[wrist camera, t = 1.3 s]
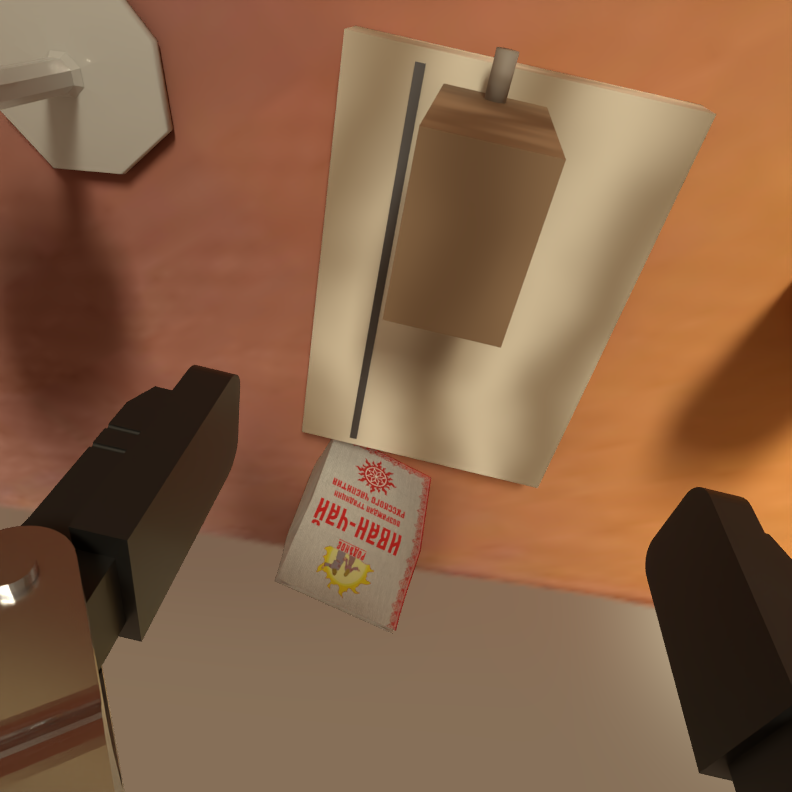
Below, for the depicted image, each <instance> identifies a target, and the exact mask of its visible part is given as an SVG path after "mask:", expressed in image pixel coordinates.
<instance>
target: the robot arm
mask: <svg viewBox="0 0 792 792" xmlns="http://www.w3.org/2000/svg"><path fill="white" fill-rule="evenodd" d="M239 399H240V379H239V376H238V375H235V374H231V373H227V372H223V371H219V370H214V369H210V368H206V367H202V366H198V365H193V366H191V367H190V368H189V369H188V371H187V372H186V373H185V374H184V376H183V377H182V378H181V380H180V381H179V382H178V384H177V385H176V386H175V388H174V389H173V390H168V389H164V388H160V387H156V386H155V387H153V388H151V389H150V390H148V391H146V392H144V393H142V394H141V395H139V396H137V397H135V398H134V399H132V400H130V401H128V402H127V403H126V404H125V405H124V406H123V408H122V409H121V410H120V411H119V412H118V413H117V415H116V416H115V417H114V418H113V419H112V420H111V422H110V423H109V426H108V428H105V429H104V430H103V431H102V432H101V433H100V435H99V436H98V437H97V438H96V439H95V440H94V442H93V446H92V447H89V448H88V449H87V450H86V451H85V452H84V453H83V455H82V456H81V457H80V458H79V459H78V460H77V462H76V463H75V464H74V465H73V466H72V468H71V469H70V470H69V471H68V472H67V473H66V475H65V476H64V477H63V478H62V479H61V480H60V482H59V483H58V484H57V485H56V486H55V488H54V489H53V490H52V491H51V492H50V493H49V495H48V496H47V497H46V498H45V499H44V500H43V502H42V503H41V504H40V505H39V506H38V508H37V509H36V510H35V511H34V512H33V513H32V515H31V516H30V517H29V518H28V519H27V520H26V521H25V522H24V523H23V524H22V525H21V526H16V527H11V528H6V529H2V530H0V792H125V789H124V784H123V778H122V773H121V767H120V762H119V756H118V751H117V745H116V740H115V734H114V729H113V723H112V717H111V712H110V706H109V701H108V695H107V690H106V684H105V678H104V673H103V668H102V664H103V663H104V661H105V659H106V657H107V656H108V654H109V652H110V650H111V648H112V647H113V645H114V643H115V641H116V639H117V638H118V636H120V637H124V638H128V639H133V640H137V641H142V640H143V638H144V636H145V634H146V632H147V630H148V628H149V626H150V624H151V622H152V620H153V618H154V617H155V615H156V613H157V611H158V609H159V607H160V605H161V603H162V601H163V599H164V597H165V595H166V594H167V592H168V590H169V588H170V586H171V584H172V582H173V580H174V578H175V576H176V574H177V572H178V571H179V569H180V567H181V565H182V563H183V561H184V559H185V557H186V555H187V553H188V551H189V549H190V548H191V546H192V543H193V542H194V540H195V538H196V536H197V534H198V532H199V530H200V528H201V526H202V525H203V523H204V521H205V519H206V517H207V515H208V513H209V511H210V509H211V507H212V505H213V503H214V501H215V500H216V498H217V496H218V494H219V492H220V490H221V488H222V486H223V484H224V482H225V480H226V478H227V477H228V474H229V472H230V470H231V467H232V464H233V461H234V458H235V454H236V449H237V443H238V424H239ZM645 569H646V576H647V580H648V584H649V587H650V591H651V595H652V599H653V602H654V606H655V610H656V614H657V617H658V621H659V624H660V628H661V632H662V636H663V640H664V643H665V647H666V651H667V654H668V658H669V662H670V666H671V669H672V673H673V677H674V680H675V685H676V688H677V692H678V696H679V699H680V703H681V707H682V711H683V714H684V718H685V722H686V725H687V729H688V733H689V736H690V740H691V744H692V747H693V752H694V755H695V759H696V763H697V767H698V770H699V773H701V774H705V775H709V776H714V777H718V778H722V779H727V780H731V781H733V784H734V787H735V790H736V792H792V559H791V558H790V557H789V556H788V555H787V554H786V552H785V551H784V550H783V549H782V548H781V547H780V546H779V545H778V543H777V542H776V541H775V540H774V539H773V538H772V537H771V536H770V535H769V534H766V533H765V532H764V530H763V528H762V526H761V524H760V523H759V521H758V519H757V517H756V515H755V513H754V511H753V509H752V507H751V505H750V503H749V502H748V501H747V500H746V499H744V498H742V497H739V496H735V495H731V494H727V493H722V492H718V491H714V490H710V489H706V488H702V487H696V488H693V489H691V490H690V491H689V492H688V493H687V494H686V495H685V497H684V498H683V499H682V501H681V502H680V503H679V505H678V506H677V508H676V509H675V510H674V512H673V513H672V514H671V516H670V517H669V518H668V520H667V521H666V522H665V524H664V525H663V526H662V528H661V529H660V530H659V532H658V533H657V534H656V536H655V537H654V538H653V540H652V541H651V543H650V545H649V548H648V551H647V555H646V563H645Z"/></svg>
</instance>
